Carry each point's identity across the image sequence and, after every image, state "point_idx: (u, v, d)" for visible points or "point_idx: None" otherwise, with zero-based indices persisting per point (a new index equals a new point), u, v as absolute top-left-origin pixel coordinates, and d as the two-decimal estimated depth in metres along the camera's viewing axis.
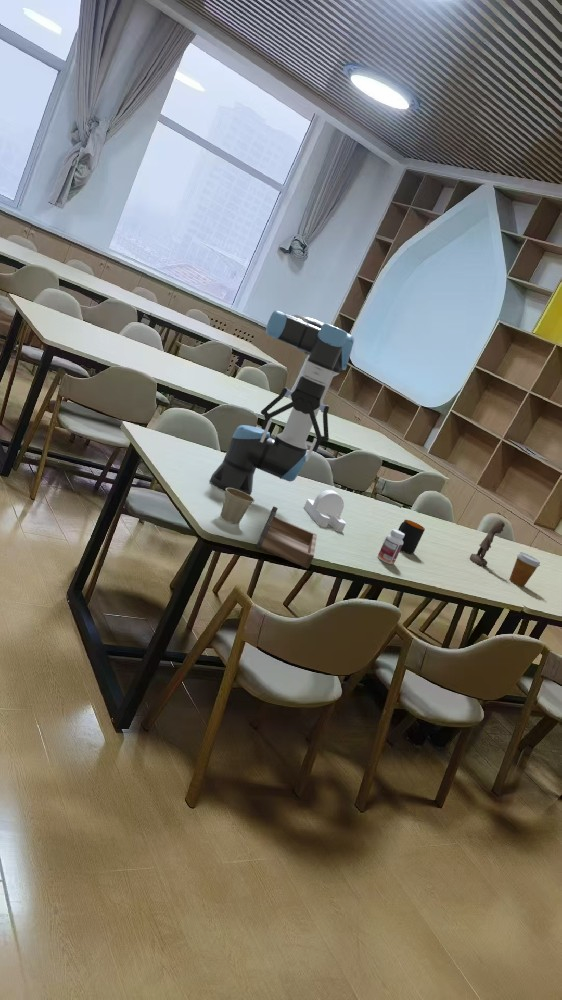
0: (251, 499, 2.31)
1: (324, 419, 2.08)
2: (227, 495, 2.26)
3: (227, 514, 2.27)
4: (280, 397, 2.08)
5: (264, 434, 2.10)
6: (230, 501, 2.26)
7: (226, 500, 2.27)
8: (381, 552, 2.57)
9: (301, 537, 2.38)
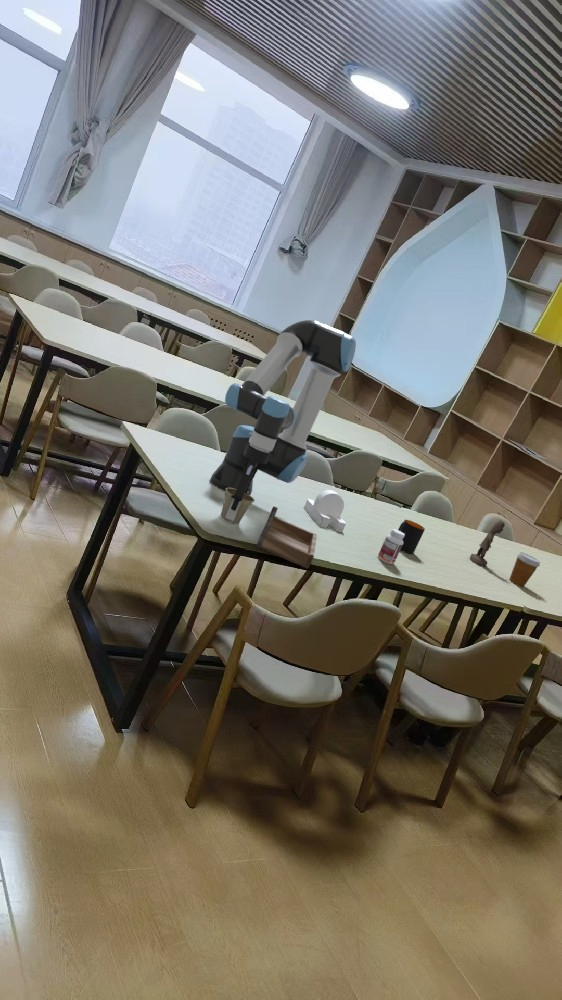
0: (251, 499, 2.31)
1: (241, 478, 2.21)
2: (227, 495, 2.26)
3: None
4: None
5: None
6: (230, 501, 2.26)
7: (226, 500, 2.27)
8: (381, 552, 2.57)
9: (301, 537, 2.38)
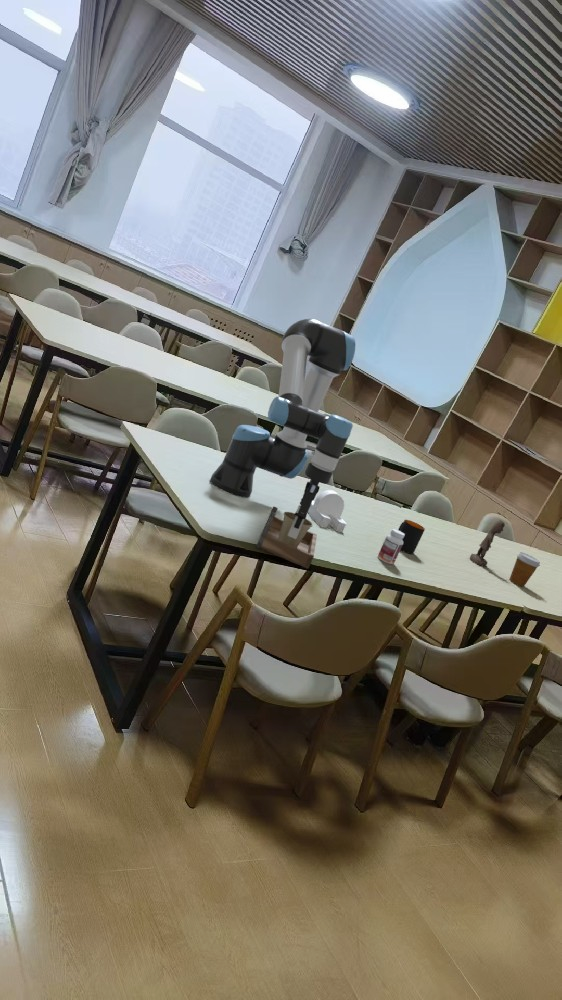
0: (309, 523, 2.28)
1: (305, 496, 2.17)
2: (286, 520, 2.23)
3: (286, 539, 2.24)
4: None
5: None
6: (288, 526, 2.23)
7: (284, 525, 2.24)
8: (381, 552, 2.57)
9: None
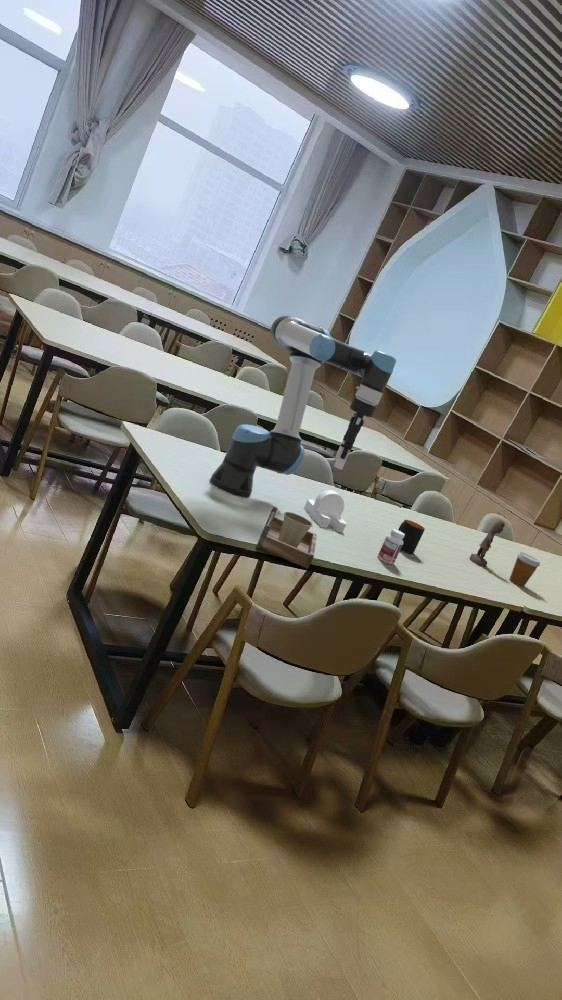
0: (309, 523, 2.28)
1: (351, 428, 2.27)
2: (286, 520, 2.23)
3: (286, 539, 2.24)
4: None
5: (337, 452, 2.42)
6: (288, 526, 2.23)
7: (285, 525, 2.24)
8: (381, 552, 2.57)
9: None
